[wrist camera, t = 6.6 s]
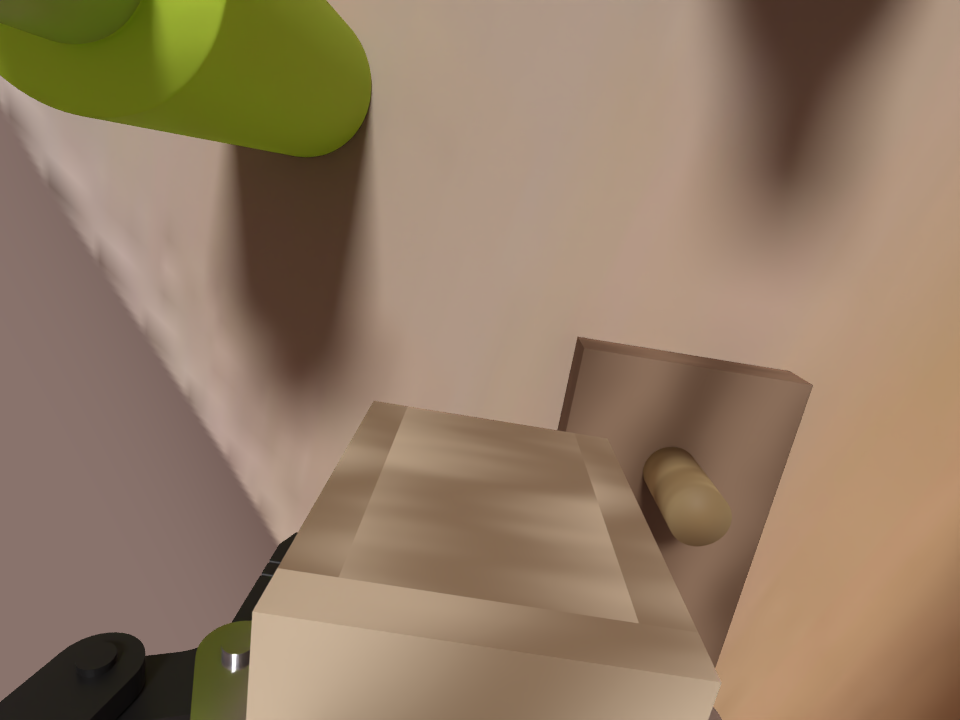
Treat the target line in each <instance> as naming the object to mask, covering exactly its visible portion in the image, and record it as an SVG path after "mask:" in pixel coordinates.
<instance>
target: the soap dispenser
mask: <svg viewBox="0 0 960 720" xmlns="http://www.w3.org/2000/svg"><path fill="white" fill-rule="evenodd" d="M0 75H1V76H2V77H3V78H4V79H6V80H7V81H8V82H9V83H11V84H12V85H13V86H15V87H16V88H18V89H19V90H21V91H22V92H24V93H25V94H27V95H29V96H30V97H32V98H34V99H36V100H37V101H39V102H41V103H44V104H46V105H48V106H50V107H53V108H55V109H58V110H61V111H64V112H67V113H71V114H75V115H79V116H84V117H90V118H95V119H100V120H106V121H111V122H116V123H121V124H127V125H132V126H137V127H143V128H148V129H153V130H159V131H164V132H169V133H174V134H180V135H185V136H190V137H196V138H201V139H206V140H212V141H217V142H222V143H227V144H233V145H238V146H243V147H249V148H254V149H259V150H265V151H270V152H275V153H280V154H286V155H291V156H297V157H316V156H321V155H325V154H328V153H330V152H333V151H335V150H336V149H338V148H340V147H341V146H343V145H344V144H345V143H347V142H348V141H349V140H350V139H351V138H352V137H353V136H354V134H355V133H356V132H357V131H358V129H359V128H360V126H361V124H362V122H363V121H364V118H365V116H366V114H367V111H368V107H369V103H370V98H371V73H370V68H369V63H368V60H367V57H366V54H365V51H364V49H363V47H362V45H361V43H360V41H359V40H358V38H357V36H356V35H355V33H354V32H353V31H352V29H351V28H350V27H349V26H348V25H347V24H346V22H345V21H344V20H343V19H342V18H341V17H340V16H339V14H338V13H337V12H336V11H335V10H334V9H333V8H332V7H331V5H330V4H329V3H328V2H327V1H326V0H0Z"/></svg>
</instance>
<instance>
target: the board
mask: <svg viewBox="0 0 960 720" xmlns="http://www.w3.org/2000/svg"><path fill="white" fill-rule="evenodd" d="M812 387H813V385H812V384H810V383H808V382H807V381H805V380H803V379H802V378H800V377H798V376H797V375H795V374H793V373H792V372H790V371H785V370H778V369H772V368H766V367H760V366H754V365H748V364H741V363H735V362H729V361H723V360H717V359H711V358H704V357H698V356H692V355H686V354H680V353H674V352H667V351H661V350H655V349H649V348H643V347H637V346H630V345H624V344H618V343H612V342H606V341H600V340H593V339H587V338H581V337H578V338H577V343H576V348H575V352H574V357H573V362H572V366H571V371H570V376H569V380H568V385H567V390H566V394H565V399H564V403H563V408H562V413H561V417H560V422H559V427H558V431H564V432H570V433H576V434H582V435H589V436H595V437H601V438H607V439H608V441H609V443H610V445H611V447H612V449H613V451H614V453H615V456H616V458H617V460H618V462H619V464H620V466H621V468H622V470H623V473H624V475H625V477H626V479H627V481H628V483H629V485H630V488H631V490H632V492H633V494H634V496H635V498H636V500H637V503H638V505H639V507H640V509H641V511H642V513H643V515H644V518H645V520H646V522H647V524H648V526H649V528H650V530H651V533H652V535H653V537H654V539H655V541H656V543H657V545H658V548H659V550H660V552H661V554H662V556H663V558H664V560H665V563H666V565H667V567H668V569H669V571H670V573H671V575H672V577H673V580H674V582H675V584H676V586H677V588H678V590H679V592H680V595H681V597H682V599H683V601H684V603H685V605H686V607H687V610H688V612H689V614H690V616H691V618H692V620H693V622H694V625H695V627H696V629H697V631H698V633H699V635H700V637H701V640H702V642H703V644H704V646H705V648H706V650H707V652H708V655H709V657H710V659H711V661H712V663H713V665H714V667H716V664H717V661H718V658H719V655H720V653H721V650H722V647H723V644H724V641H725V638H726V635H727V632H728V629H729V627H730V624H731V621H732V618H733V615H734V612H735V609H736V606H737V603H738V601H739V598H740V595H741V592H742V589H743V586H744V583H745V580H746V577H747V575H748V572H749V569H750V566H751V563H752V560H753V557H754V554H755V551H756V549H757V546H758V543H759V540H760V537H761V534H762V531H763V528H764V525H765V523H766V520H767V517H768V514H769V511H770V508H771V505H772V502H773V499H774V497H775V494H776V491H777V488H778V485H779V482H780V479H781V476H782V473H783V471H784V468H785V465H786V462H787V459H788V456H789V453H790V450H791V447H792V445H793V442H794V439H795V436H796V433H797V430H798V427H799V424H800V421H801V419H802V416H803V413H804V410H805V407H806V404H807V401H808V398H809V395H810V393H811V390H812Z"/></svg>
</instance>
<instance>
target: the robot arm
mask: <svg viewBox="0 0 960 720" xmlns="http://www.w3.org/2000/svg"><path fill="white" fill-rule="evenodd" d="M296 535H297V532H296V533H295V534H293V535H292V536H291V537H289V538H288V539H286V540H285V541H283V542H282V543H281V544H279V546H278V547H277V549H276V551H275V552H274V554H273V556H272V557H271V559H270V562H269V563H268V564H267V565H266V567H265V569H264V570H263V572H262V576H260V577H259V579H258V580H257V582H256V583H255V585H254V587H253V588H252V590H251V592H250V593H249V595H248V597H247V598H246V600H245V601H244V603H243V605H242V606H241V608H240V610H239V611H238V613H237V615H236V616H235V618H234V620H233V621H232V623H229V624H226V625H223V626H221V627H219V628H217V629H216V630H214V631H212V632H211V633H210V634H208V635H207V636H206V637H205V638H204V639H203V640H202V642H201V643H200V645H199V647H198V648H195V649H192V650H188V651H183V652H176V653H167V654H158V655H149V656H145V648H144V646H143V644H142V642H141V641H140V640H139V639H137V638H136V637H134V636H132V635H129V634H125V633H117V632H115V633H104V634H98V635H95V636H91V637H88V638H85V639H82V640H80V641H78V642H76V643H74V644H73V645H71V646H69V647H67V648H66V649H65V650H63V651H62V652H61V653H59V654H58V655H57V656H56V657H55V658H53V659H52V660H51V661H50V662H49V663H47V664H46V665H45V666H44V667H42V668H41V669H40V670H39V671H38V672H36V673H35V674H34V675H33V676H31V677H30V678H29V679H28V680H26V682H24V683H23V684H22V685H21V686H19V687H18V688H17V689H16V690H14V691H13V692H12V693H11V694H9V695H8V696H7V697H6V698H4V699H3V700H2V701H1V702H0V720H246V712H247V695H248V678H249V661H250V644H251V627H252V612H253V610H254V608H255V606H256V605H257V603H258V601H259V599H260V598H261V596H262V594H263V592H264V591H265V589H266V587H267V585H268V584H269V582H270V580H271V579H272V577H273V575H274V573H275V572H276V570H277V568H278V566H279V565H280V563H281V561H282V559H283V558H284V556H285V554H286V553H287V551H288V549H289V547H290V546H291V544H292V542H293V540H294V539H295V537H296ZM708 720H722V719H721V717H720V715H719V714H718V712H717V711H716V710H715V709H714V707H713V708H712V711H711V713H710V716H709V719H708Z"/></svg>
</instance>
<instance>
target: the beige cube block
mask: <svg viewBox="0 0 960 720" xmlns="http://www.w3.org/2000/svg"><path fill="white" fill-rule="evenodd" d="M721 683H722V682H721V680H720V678H719V676H718V674H717V672H716V670H715V667H714V665H713V663H712V661H711V659H710V657H709V655H708V652H707V650H706V648H705V646H704V644H703V642H702V640H701V637H700V635H699V633H698V631H697V629H696V627H695V625H694V622H693V620H692V618H691V616H690V614H689V612H688V610H687V607H686V605H685V603H684V601H683V599H682V597H681V595H680V592H679V590H678V588H677V586H676V584H675V582H674V580H673V577H672V575H671V573H670V571H669V569H668V567H667V565H666V563H665V560H664V558H663V556H662V554H661V552H660V550H659V548H658V545H657V543H656V541H655V539H654V537H653V535H652V533H651V530H650V528H649V526H648V524H647V522H646V520H645V518H644V515H643V513H642V511H641V509H640V507H639V505H638V503H637V500H636V498H635V496H634V494H633V492H632V490H631V488H630V485H629V483H628V481H627V479H626V477H625V475H624V473H623V470H622V468H621V466H620V464H619V462H618V460H617V458H616V456H615V453H614V451H613V449H612V447H611V445H610V443H609V441H608V439H607V438H601V437H595V436H589V435H582V434H576V433H570V432H564V431H558V430H551V429H545V428H539V427H533V426H526V425H520V424H514V423H508V422H502V421H495V420H489V419H483V418H477V417H470V416H464V415H458V414H452V413H446V412H439V411H433V410H427V409H421V408H414V407H408V406H402V405H396V404H390V403H383V402H377V401H374V402H373V403H372V405H371V407H370V409H369V410H368V412H367V414H366V416H365V417H364V419H363V421H362V423H361V424H360V426H359V428H358V429H357V431H356V433H355V435H354V436H353V438H352V440H351V442H350V443H349V445H348V447H347V449H346V450H345V452H344V454H343V455H342V457H341V459H340V461H339V462H338V464H337V466H336V468H335V469H334V471H333V473H332V475H331V476H330V478H329V480H328V481H327V483H326V485H325V487H324V488H323V490H322V492H321V494H320V495H319V497H318V499H317V501H316V502H315V504H314V506H313V507H312V509H311V511H310V513H309V514H308V516H307V518H306V520H305V521H304V523H303V525H302V527H301V528H300V530H299V532H298V533H297V535H296V537H295V539H294V540H293V542H292V544H291V546H290V547H289V549H288V551H287V553H286V554H285V556H284V558H283V559H282V561H281V563H280V565H279V566H278V568H277V570H276V572H275V573H274V575H273V577H272V579H271V580H270V582H269V584H268V585H267V587H266V589H265V591H264V592H263V594H262V596H261V598H260V599H259V601H258V603H257V605H256V606H255V608H254V610H253V612H252V627H251V644H250V661H249V678H248V695H247V712H246V720H708V719H709V716H710V713H711V711H712V708H713V705H714V702H715V699H716V697H717V694H718V691H719V688H720V685H721Z"/></svg>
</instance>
